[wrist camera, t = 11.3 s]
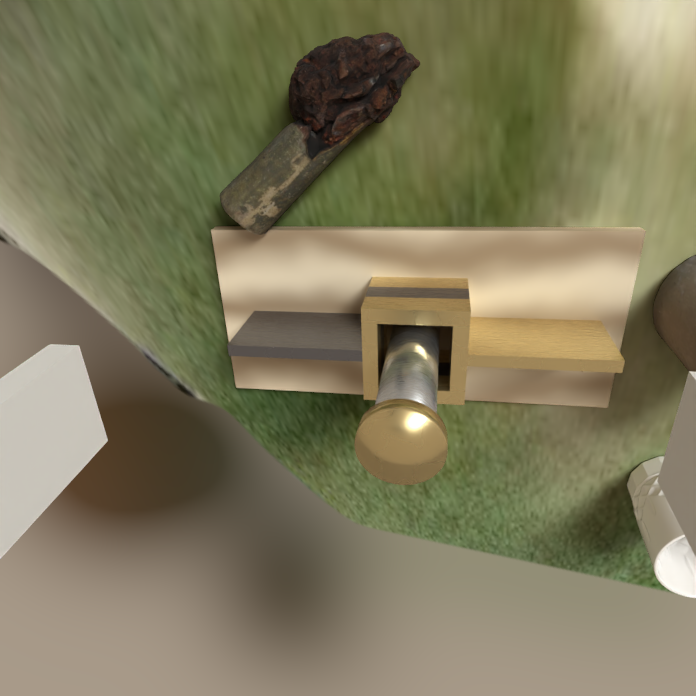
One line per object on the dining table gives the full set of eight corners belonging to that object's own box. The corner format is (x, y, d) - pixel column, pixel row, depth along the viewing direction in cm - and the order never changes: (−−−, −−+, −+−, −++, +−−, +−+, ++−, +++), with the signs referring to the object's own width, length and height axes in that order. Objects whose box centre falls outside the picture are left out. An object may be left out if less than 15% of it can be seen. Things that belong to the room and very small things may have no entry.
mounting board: (216, 226, 47) (210, 229, 46) (640, 227, 42) (645, 231, 41) (240, 381, 55) (236, 387, 54) (604, 400, 49) (607, 407, 48)
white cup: (632, 444, 51) (670, 523, 42) (722, 455, 50) (780, 537, 41) (611, 506, 54) (642, 590, 46) (694, 517, 53) (742, 605, 45)
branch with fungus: (271, 229, 47) (249, 247, 42) (215, 168, 46) (186, 180, 41) (429, 75, 40) (425, 75, 35) (369, -3, 38) (356, -15, 33)
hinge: (249, 274, 48) (220, 304, 42) (608, 280, 43) (635, 316, 37) (260, 353, 51) (234, 392, 45) (591, 367, 47) (613, 413, 40)
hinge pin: (386, 290, 46) (353, 407, 30) (449, 292, 45) (449, 413, 30) (386, 346, 49) (356, 480, 33) (446, 348, 48) (445, 488, 32)
